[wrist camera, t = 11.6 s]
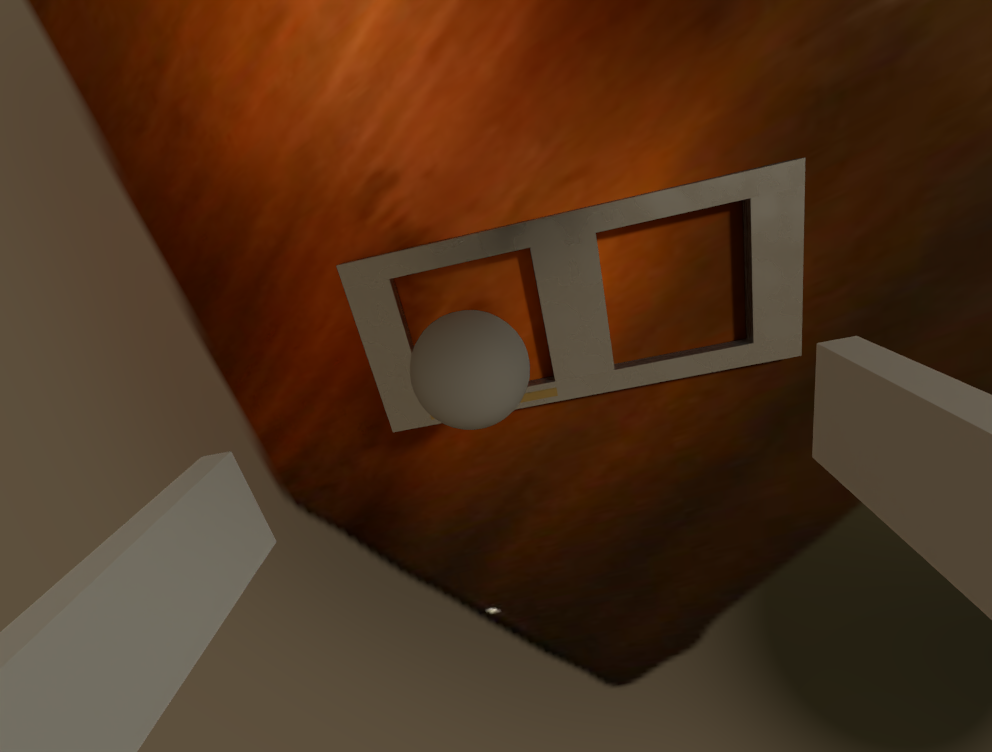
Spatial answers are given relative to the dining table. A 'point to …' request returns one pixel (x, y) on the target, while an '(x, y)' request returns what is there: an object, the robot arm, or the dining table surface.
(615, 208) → the grey window frame
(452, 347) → the lightbulb
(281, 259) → the dining table surface
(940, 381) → the robot arm
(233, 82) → the dining table surface
